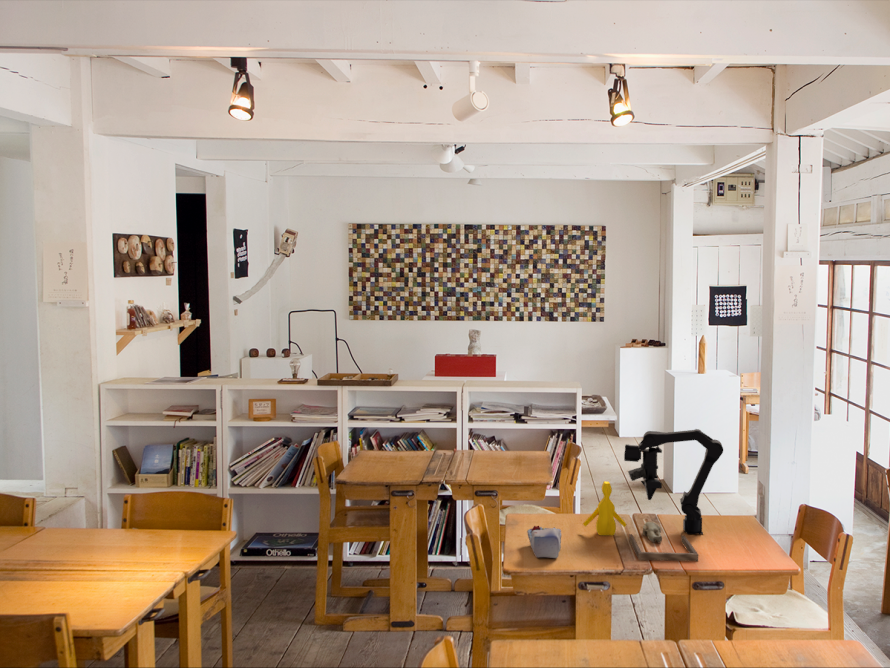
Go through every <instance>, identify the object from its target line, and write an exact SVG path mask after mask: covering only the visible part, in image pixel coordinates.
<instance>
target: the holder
mask: <svg viewBox="0 0 890 668" xmlns="http://www.w3.org/2000/svg"><path fill="white" fill-rule="evenodd" d="M680 537H681V538H680V539H681V540H680V541H681V544H683V546H684V548H685V547H686V548H685V549H686V551H687V552H658V551H657V552H656V551H655V552H652V551H651V552H650V551H642V550H641V548H640V546H639V544H638V543H637V541H636V539H635V537H634V535H633V533H632V534H631V533H630V534H629V535H628V541H629V543H630V545H631V547H632V549H633V551H634V553H635V556H636V557H637V560H638V561H675V562H677V561H680V562H681V561H682V562H699V553H698V551H696V549H695V548H694V546H693V545H692V543H691V542H690V541H689V539H688V538H687V537H686V535H684V534H683V535H682V534H681V536H680Z"/></svg>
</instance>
